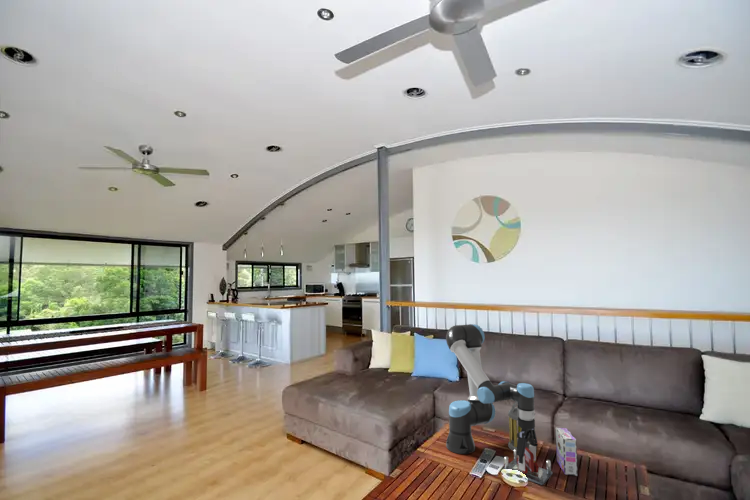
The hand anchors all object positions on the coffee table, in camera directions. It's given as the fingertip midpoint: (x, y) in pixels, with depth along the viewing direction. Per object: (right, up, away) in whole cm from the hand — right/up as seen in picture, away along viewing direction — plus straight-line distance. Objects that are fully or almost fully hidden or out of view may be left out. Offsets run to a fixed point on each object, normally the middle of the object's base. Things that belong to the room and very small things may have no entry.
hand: (527, 464), depth 174 cm
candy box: (+20, -4, +4) cm, 21 cm away
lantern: (+7, -5, +25) cm, 26 cm away
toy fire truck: (0, -2, 0) cm, 2 cm away
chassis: (0, -3, 0) cm, 3 cm away
